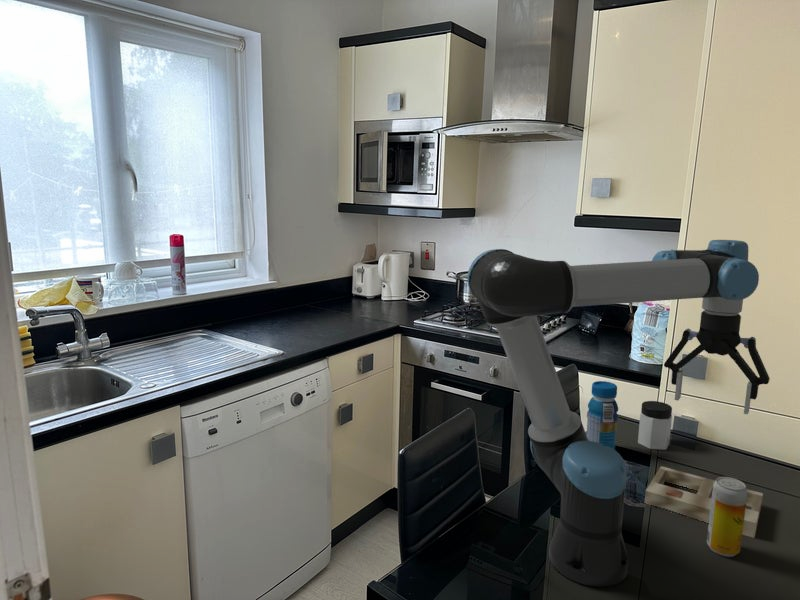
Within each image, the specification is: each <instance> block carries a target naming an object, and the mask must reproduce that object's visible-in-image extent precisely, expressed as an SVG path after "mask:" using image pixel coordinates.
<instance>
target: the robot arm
mask: <svg viewBox="0 0 800 600" xmlns="http://www.w3.org/2000/svg"><path fill="white" fill-rule="evenodd" d="M759 277H760V273H759V271H758V269H757V266H755V265H754V263H752V262H750V261H749V244H748V243H747V242H746V241H743V240H737V239H735V240H734V239H712V240H710V241H709V242H708V246H707V248H706V249H701V250H700V249H697V250H696V249H695V250H694V249H693V250H692V249H691V250H689V249H688V250H687V249H684V250H683V249H670V250H669V249H668V250H660V251H658V252H656V253H655V254H654V256H653V257H652V259H651V260H647V261H646V260H645V261H629V262H615V263H613V262H612V263H610V262H609V263H596V264H594V263H593V264H577V265H570V264H569V263H568V262H567V261H566V260H541V259H536V258H530V257H528V256H527V257H526V256H524V255H520V254H516V253H514V252H513V251H510V250H508V249H504V248H499V249H498V248H496V249H495V248H494V249H487V250H486V251H483V252H482V253H480V254H479V255H478V256H477V257H475V258H474V260H473V261H472V262H471V264H470V266H469V268H468V272H467V284H468V287H469V290H470V292H471V294H472V296H474V297H475V299H477V302H478V304H479V308H480V309H481V312H482V315H483V317H484V320H485V323H486V324H487V325H489V326H491V327H494V328H496V330H497V333H498V336H499V339H500V342H501V345H502V347H503V349H504V353H505V355H506V358H507V361H508V363H509V366H510V368H511V370H512V374H513V377H514V380H515V382H516V384H517V387H518V390H519V392H520V395H521V397H522V401H523V404H524V406H525V409H526V411H527V414H528V417H529V419H530V422H531V424H530V425H529V426H528V430H527V434H528V436H529V439H530V441H529V443H530V444H529V445H530V451H531V455H532V457H533V459H534V461H535V463H536V464H537V466H538V467H539V468H540V469H541V470H542V472H544V473H545V475H546V476H547V477H548V479H549V480H550V481H551V483H552V484H553V485H554V486H555V488H556V490H558V492H559V493H560V497H561V498H560V511H559V512H560V514H559V521H558V524H557V526H556V528H555V530H554V533H553V535H552V538H550V542H549V546H548V547H549V549H548V558H550V559H549V562H550V561H551V562H550V564H551V563H552V564H551V566H553V568H554V567H555V568H556V569H557V570H556V569H555V568H554V569H555V570H556V572H558V571H559V572H560V574H561V575H562V576H564V577H565V578H567V579H569V580H570V581H573V582H576V583H579V584H582V585H585V586H589V587H590V586H591V587H598V588H599V587H601V588H602V587H610V586H616V585H617V584H620V583H621V582H623V581H624V580H625V579H626V578H627V576H628V572H629V555H628V551H627V548H626V543H625V541H624V537H623V533H622V530H623V529H622V527H623V515H624V507H625V506H624V504H625V494H626V493H625V492H626V487H627V483H628V482H627V481H628V479H627V477H628V476H627V467H626V466H627V465H626V463H625V460H624V458H623V457H622V456H621V454H620V453H619V452H618V451H617V450H616V449H615V450H614V449H612V448H610V447H609V446H603V445H602V444H601V443H598V442H593V441H589V440H588V438H587V432H586V430H585V427H584V425H583V422H582V419H581V417H580V415H579V414H577V413H576V412H574V411H571V410H570V407H569V404H568V402H567V398H566V395H565V393H564V390H563V388H562V387H563V386H562V384H561V381H560V379H559V376H558V373H557V370H556V367H555V364H554V361H553V359H552V355H551V352H550V349H549V348H548V345H547V342H546V339H545V336H544V332H543V330H542V327H541V325H540V322H539V319H538V316H545V315H556V314H557V315H558V314H567V313H569V312H570V311H571V310H572V308H574V307H575V308H577V307H589V306H590V307H591V306H603V305H618V304H631V303H632V304H633V303H644V302H646V303H647V302H658V301H660V302H661V301H673V300H675V301H677V300H687V299H688V300H689V299H702V303H701V308H702V309H703V311H702V312H701V313H700V323H699V330H698V331H695V330H692V329H690V328H686V329H684V331H683V332H682V335H681V340H679V342H678V344H677V345H676V347H674V349H673V350H672V352H671V354H670V355H669V356H668V358H667V359H666V361H665V362H664V363H663V367H664V368H668V369H670V370H671V372H672V373H671V381H670V383H671V384H672V385H674V386H675V393H674V401H676V402H677V401H679V400H680V399H681V397H682V388H683V376H684V370H683V369H682V368H683V367H684V366H685V365H687V364H688V363H690V362H691V361H692V360H693V359H694V358H696V357H697V356H698V355H700V354H702V352H704V351H705V352H706V353H707V354H709V355H715V354H716V355H719V356H724V357H725V356H727V355H728V356H729V357H730V359H732V360H733V362H734V363H735V364H736V365H737V366H738V368H739V369H740V370H741V373H743V374H744V376H745V377H746V378H747V379H748V382H747V385H746V393H745V400H744V406H743V408H744V409H743V415H749V412H750V406H751V400H756V399H757V398H758V393H759V386H760V385H768V384H769V382H770V380H771V379H770V378H771V377H770V376H769V373H768V371H767V369H766V367H765V364H764V363H763V362H764V361H763V360H762V358H761V356H760V353H759V351H758V349H757V339H756V337H754V336H750V337H741V335H740V331H741V330H740V328H741V321H742V315H741V314H740V313H741V312H743V303H744V300H745V299H747V298H749V297H750V296H751V295H752V294H754V292H755V291H756V290H757V287H758V285H759V281H760V278H759ZM694 338H696V339H697V341H698V343H699V344H698V346H697V347H695V348H694V349H693V350H692V351H691V352H689V353H688V354H687V355H685V356H684V357H683V358H682V359H680V360H679V361H678V362H676V363H675V360H676V359H677V358H678V356H679V354H680V353H681V352H682V351H683V349H684V348H685V346H686V345H687V344H688V342H689V341H692V340H693V339H694ZM741 344H742V345H743V347H744V348H745V349H747V350H748V352H749V353H748V354H749V356H750V358H751V361H752V363H753V365H754V367H755V369H756V372H757V374H758V375H757V374H756V373H755V371H754V370H753V369H752V368H751V366H749V364H748V363H747V362H746V360H745V359H744V358H743V357H742V355H741V353H740V351H739V350H738V349H737V347H738V346H740V345H741ZM559 572H558V573H559Z"/></svg>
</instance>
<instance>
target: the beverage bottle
mask: <svg viewBox="0 0 800 600" xmlns="http://www.w3.org/2000/svg"><path fill="white" fill-rule="evenodd" d="M617 395H618V386H617V385H616V384H615V383H613V382H610V381H605V380H604V381H603V380H598V381H594V382H592V385H591V396H592V397H591V398H590V400H589V402H588V403H587V408H588V410H587V413H586V418H587V422H586V435H587V438H588V440H589V441H593V442H598V443H601V444H602V445H603V446H609V447H610V448H612V449H614V450H615V451H616V435H617V426H618V421H619V415H618V411H619V406H618V405H619V404H618V403H617V401H616V398H617Z"/></svg>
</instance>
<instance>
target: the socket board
mask: <svg viewBox="0 0 800 600" xmlns="http://www.w3.org/2000/svg"><path fill="white" fill-rule="evenodd" d="M715 481H716V479H715V480H714V479H710V478H707V477H703V476H699V475H695V474H691V473H689V472H684V471H681V470H677V469H673V468H669V467H666V466H662V465H661V466H660V467H659V468H658V470H657V472H656V473H655V475H654V477H653V478H652V479H651V481H650V483H649V484H648V486H647V487H646V489H645V492H644V493H645V495H644V503H646V504H649V505H654V506H658V507H661V508H665V509H668V510H671V511H674V512H677V513H680V514H683V515H687V516H689V517H692V518H695V519H698V520H700V521H699V522H701V521H704V522H706V523H705V524H707V523H709V517H710V508H711V500H712V491H713V484H714V482H715ZM664 482H668V483H672V484H676V485H679V486H683V487H687V488H689V489H694V490H697V491H698V492H696V493H694V492H691V491H690V492H689V491H686V490H683V489H680V488H676V487H672V486H669V485H665V483H664ZM668 483H667V484H668ZM689 489H688V490H689ZM746 489H747V492H748V493H747V501H746V507H750V509H749V508H746V509H745V516H744V524H743V532H742V536H747V537H750V538H753V539H755V537H756V532H757V529H758V528H757V527H758V523H759V519H760V514H761V511H762V510H761V509H762V503H763V496H764V493H762V492H759V491H755V490H752V489H748V488H746ZM646 504H645V505H646ZM649 505H648V506H649ZM704 522H703V523H704Z"/></svg>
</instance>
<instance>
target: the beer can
mask: <svg viewBox="0 0 800 600" xmlns="http://www.w3.org/2000/svg"><path fill="white" fill-rule="evenodd" d="M747 489H748V488H747V485H746V484H745V483H744V482H742V481H741V480H739V479H736V478H734V477H729V476H718V477H717V478H716V479H715V482H714V484H713V491H712V500H711V508H710V517H709V524H708V527H707V535H706V536H707V537H706V544H707V545H708V546H709V549H710V550H711V551H712V552H714V553H715V554H716V555H717V554H718V555H720V556H721V557H722V556H723V557H727V558H730V557H735V556H736V555H738V554H740V552H741V547H742V539H743V534H742V532H743V524H744V516H745V509H747V508H746V507H747V506H746V501H747V493H748V492H747Z"/></svg>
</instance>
